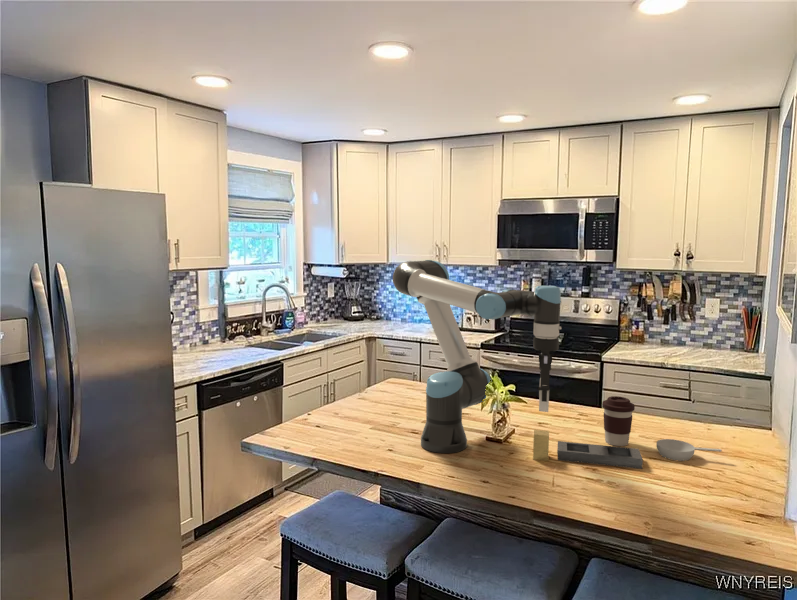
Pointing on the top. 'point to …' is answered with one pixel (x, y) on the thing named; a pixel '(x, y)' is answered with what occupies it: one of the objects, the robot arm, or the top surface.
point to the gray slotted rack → (599, 454)
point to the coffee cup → (617, 420)
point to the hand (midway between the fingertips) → (543, 404)
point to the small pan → (678, 449)
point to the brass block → (541, 445)
